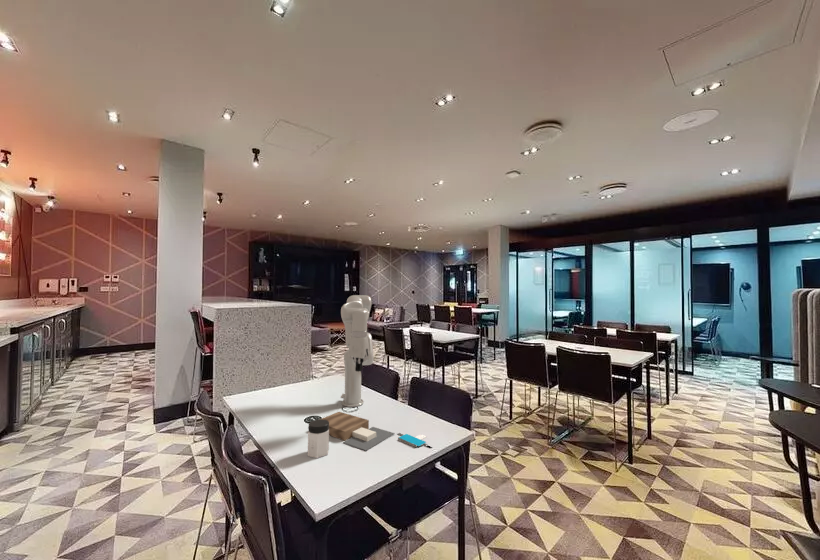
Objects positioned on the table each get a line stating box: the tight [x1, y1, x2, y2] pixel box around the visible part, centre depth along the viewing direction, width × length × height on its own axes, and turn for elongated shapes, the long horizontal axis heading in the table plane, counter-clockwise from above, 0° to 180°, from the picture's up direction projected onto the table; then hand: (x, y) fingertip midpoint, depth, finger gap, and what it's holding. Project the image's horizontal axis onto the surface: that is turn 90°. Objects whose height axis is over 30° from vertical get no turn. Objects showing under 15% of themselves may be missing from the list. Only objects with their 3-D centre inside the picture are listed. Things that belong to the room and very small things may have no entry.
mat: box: [343, 426, 395, 452], centre depth 149 cm, size 13×20×1 cm, turn 147°
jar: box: [307, 418, 330, 459], centre depth 135 cm, size 9×8×12 cm
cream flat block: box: [352, 427, 376, 441], centre depth 150 cm, size 9×6×2 cm, turn 55°
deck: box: [318, 411, 370, 442], centre depth 158 cm, size 20×16×4 cm
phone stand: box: [397, 432, 428, 448], centre depth 148 cm, size 20×12×2 cm, turn 47°
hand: (358, 370), depth 166 cm, fingers closed
